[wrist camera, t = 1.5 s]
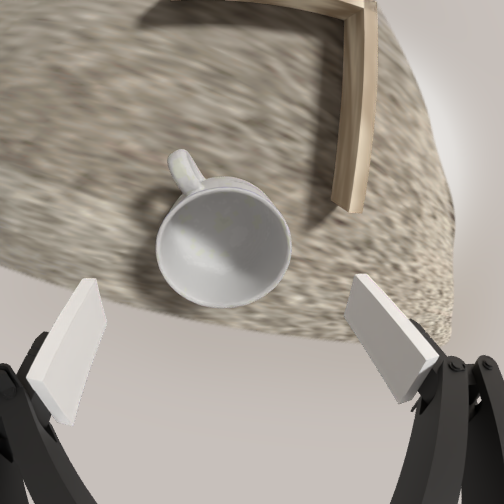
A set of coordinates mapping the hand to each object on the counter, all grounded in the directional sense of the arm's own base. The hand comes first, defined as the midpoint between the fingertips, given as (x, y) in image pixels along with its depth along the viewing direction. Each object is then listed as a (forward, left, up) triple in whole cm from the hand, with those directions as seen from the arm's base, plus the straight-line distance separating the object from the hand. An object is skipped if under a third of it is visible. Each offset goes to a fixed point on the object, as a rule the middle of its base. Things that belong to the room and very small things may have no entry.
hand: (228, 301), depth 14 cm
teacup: (0, 0, -17) cm, 17 cm away
